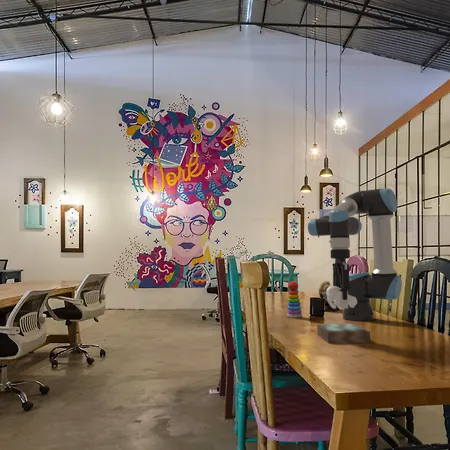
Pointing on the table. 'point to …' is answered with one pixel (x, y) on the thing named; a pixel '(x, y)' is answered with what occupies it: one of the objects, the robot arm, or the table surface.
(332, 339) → the square wooden tray
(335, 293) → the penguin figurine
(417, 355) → the table surface
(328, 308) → the owl figurine
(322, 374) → the table surface
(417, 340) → the table surface
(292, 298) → the stacking toy
